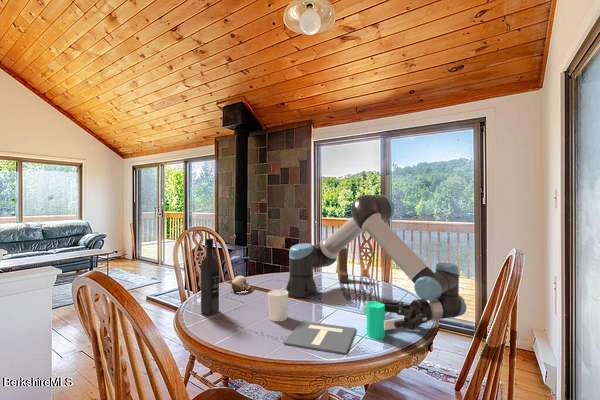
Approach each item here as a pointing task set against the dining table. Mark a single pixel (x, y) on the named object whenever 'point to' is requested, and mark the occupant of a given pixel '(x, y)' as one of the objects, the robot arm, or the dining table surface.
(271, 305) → the white cup
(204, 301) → the black olive oil bottle
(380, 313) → the candle
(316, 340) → the letter pad
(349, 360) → the dining table surface
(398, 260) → the robot arm
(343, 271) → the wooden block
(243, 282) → the skull
